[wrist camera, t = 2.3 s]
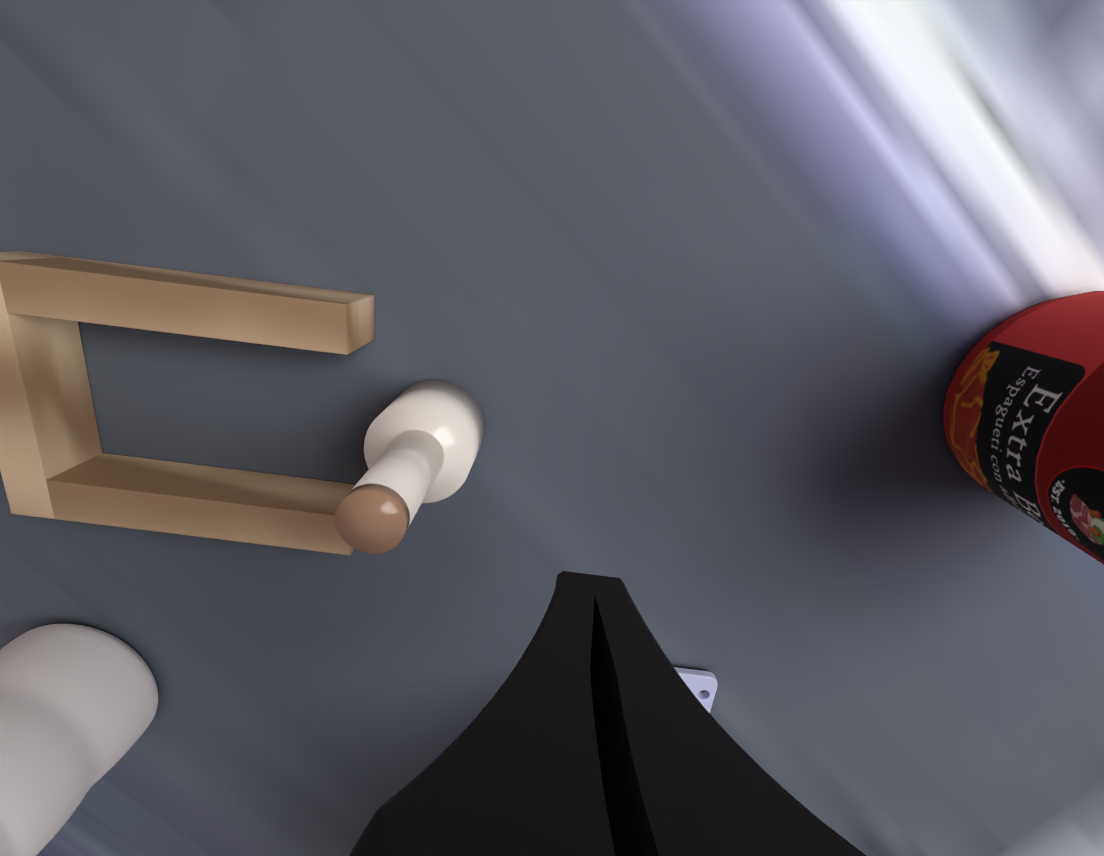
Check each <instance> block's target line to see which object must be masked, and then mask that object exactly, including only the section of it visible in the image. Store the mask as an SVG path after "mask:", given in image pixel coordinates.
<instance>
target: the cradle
mask: <svg viewBox="0 0 1104 856" xmlns="http://www.w3.org/2000/svg"><path fill="white" fill-rule="evenodd" d="M78 321H79V322H87V323H95V324H103V325H111V326H119V327H128V328H136V329H144V330H152V331H160V332H168V333H176V334H184V335H192V336H200V337H208V338H216V339H225V340H233V341H241V342H249V343H257V344H265V345H273V346H281V347H289V348H297V349H305V350H313V351H321V352H330V353H338V354H346V355H347V354H349V353H351V352H353V351H355V350H356V349H358V348H360V347H362V346H364V345H365V344H367V343H369V342H371V341H372V340H374V295H369V294H361V293H353V292H345V291H337V290H329V289H321V288H313V287H305V286H297V285H289V284H281V283H273V282H265V281H256V280H248V279H240V278H232V277H224V276H216V275H208V274H200V273H192V272H184V271H176V270H168V269H160V268H152V267H144V266H135V265H127V264H119V263H111V262H103V261H95V260H87V259H79V258H71V257H63V256H55V255H47V254H39V253H31V252H23V251H15V252H0V471H1V475H2V479H3V482H4V486H5V490H6V494H7V498H8V502H9V505H10V509H11V513H12V514H19V515H27V516H35V517H43V518H51V519H59V520H67V521H76V522H84V523H92V524H100V525H108V526H116V527H124V528H133V529H141V530H149V531H157V532H165V533H173V534H181V535H190V536H198V537H206V538H214V539H222V540H230V541H238V542H246V543H255V544H263V545H271V546H279V547H287V548H295V549H303V550H312V551H320V552H328V553H336V554H344V555H351V553H352V552H353V550H354V548H352V547H351V546H349V545H348V544H347V543H346V542H345V541H344V540H343V539H342V538H341V537H340V535H339V533H338V531H337V529H336V526H335V512H336V509H337V507H338V505H339V504H340V503H341V501H342V500H343V499H344V498H345V497H346V495H347V494H348V493H349V492H350V491H351V490H352V488H353V487H354V486H355V485H356V484H349V483H341V482H333V481H325V480H317V479H308V478H300V477H292V476H284V475H276V474H268V473H260V472H252V471H244V470H235V469H227V468H219V467H211V466H203V465H195V464H187V463H179V462H170V461H162V460H154V459H146V458H138V457H130V456H122V455H114V454H106V453H102V449H101V444H100V438H99V433H98V428H97V422H96V417H95V412H94V406H93V401H92V396H91V390H90V385H89V380H88V374H87V369H86V363H85V358H84V353H83V347H82V342H81V337H80V331H79V326H78Z"/></svg>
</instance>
